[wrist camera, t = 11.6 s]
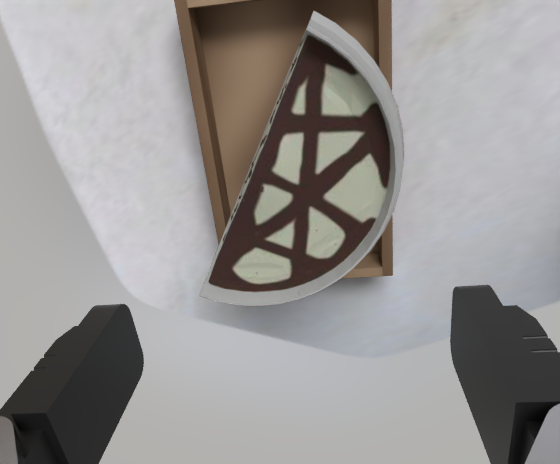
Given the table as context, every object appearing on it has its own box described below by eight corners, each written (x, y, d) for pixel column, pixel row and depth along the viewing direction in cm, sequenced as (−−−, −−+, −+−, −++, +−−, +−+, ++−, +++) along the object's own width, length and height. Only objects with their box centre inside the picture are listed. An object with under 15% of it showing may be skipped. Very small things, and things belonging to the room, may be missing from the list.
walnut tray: (383, -28, 23) (391, -32, 21) (386, 255, 30) (392, 275, 28) (185, -3, 24) (173, -5, 22) (232, 265, 31) (226, 285, 29)
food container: (321, 250, 29) (326, 354, 20) (231, 214, 29) (194, 305, 20) (419, 60, 24) (483, 88, 15) (312, 11, 24) (313, 10, 15)
